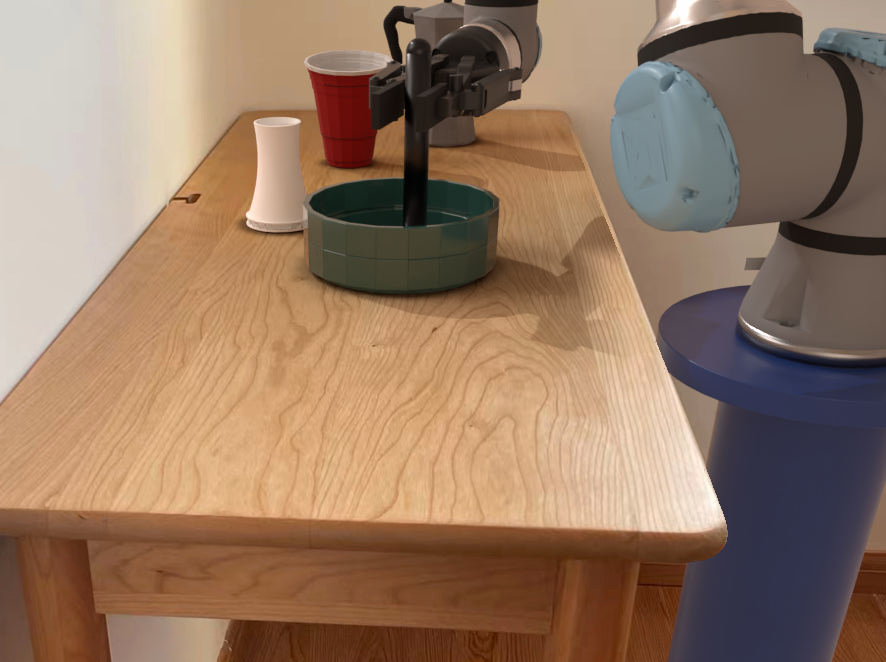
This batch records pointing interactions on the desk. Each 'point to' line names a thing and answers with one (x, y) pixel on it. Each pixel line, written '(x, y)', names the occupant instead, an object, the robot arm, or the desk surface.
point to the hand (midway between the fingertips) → (398, 113)
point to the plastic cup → (345, 103)
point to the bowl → (400, 236)
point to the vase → (278, 177)
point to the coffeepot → (432, 28)
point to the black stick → (416, 134)
